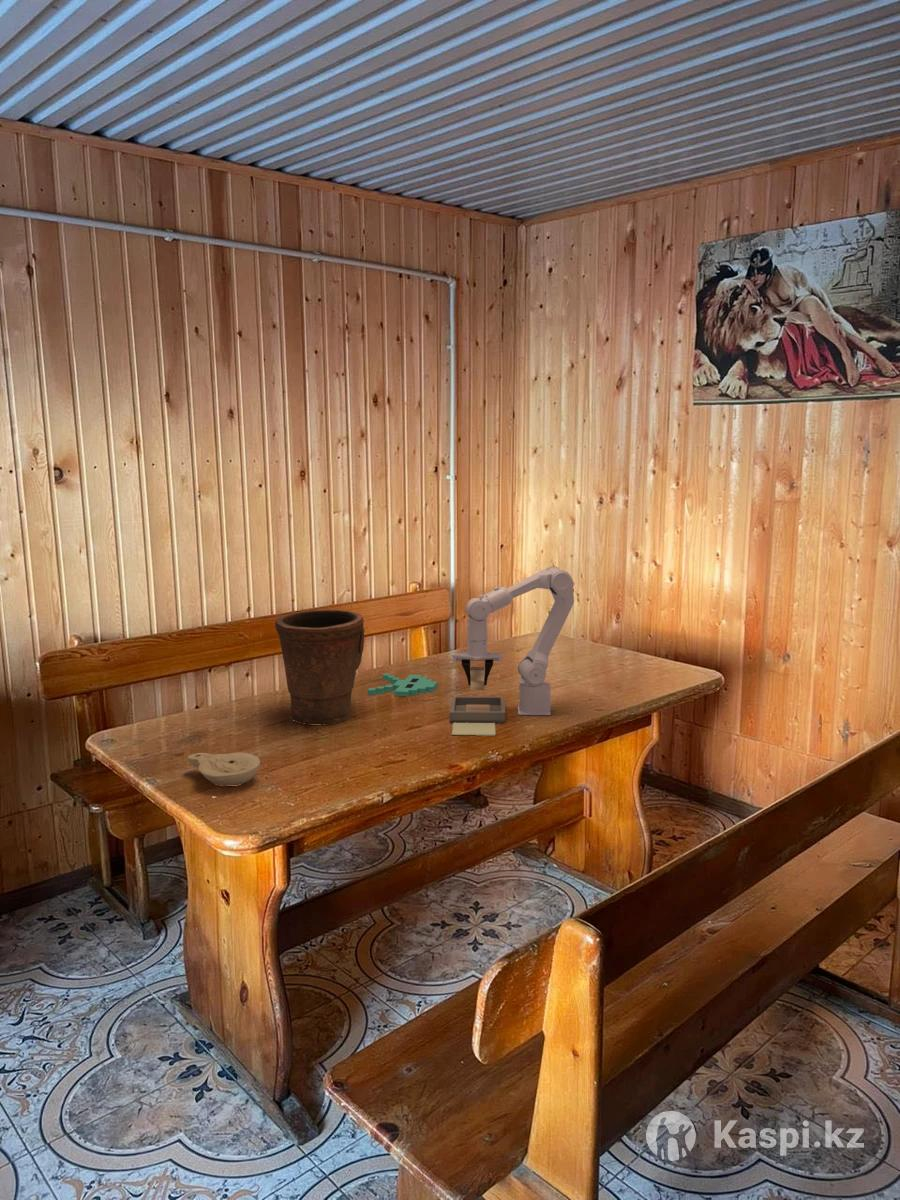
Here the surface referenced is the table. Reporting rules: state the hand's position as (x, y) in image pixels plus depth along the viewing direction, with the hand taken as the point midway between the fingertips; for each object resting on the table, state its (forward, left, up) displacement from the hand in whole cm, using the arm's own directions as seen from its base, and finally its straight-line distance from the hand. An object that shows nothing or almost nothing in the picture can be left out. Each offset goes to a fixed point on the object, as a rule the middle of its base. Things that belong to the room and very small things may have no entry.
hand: (477, 684), depth 262 cm
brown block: (0, 0, -1) cm, 1 cm away
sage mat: (+1, +13, -9) cm, 16 cm away
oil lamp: (+62, +51, -10) cm, 81 cm away
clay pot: (+45, -1, -10) cm, 46 cm away
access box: (0, -1, -9) cm, 9 cm away
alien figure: (+24, -29, -10) cm, 39 cm away
